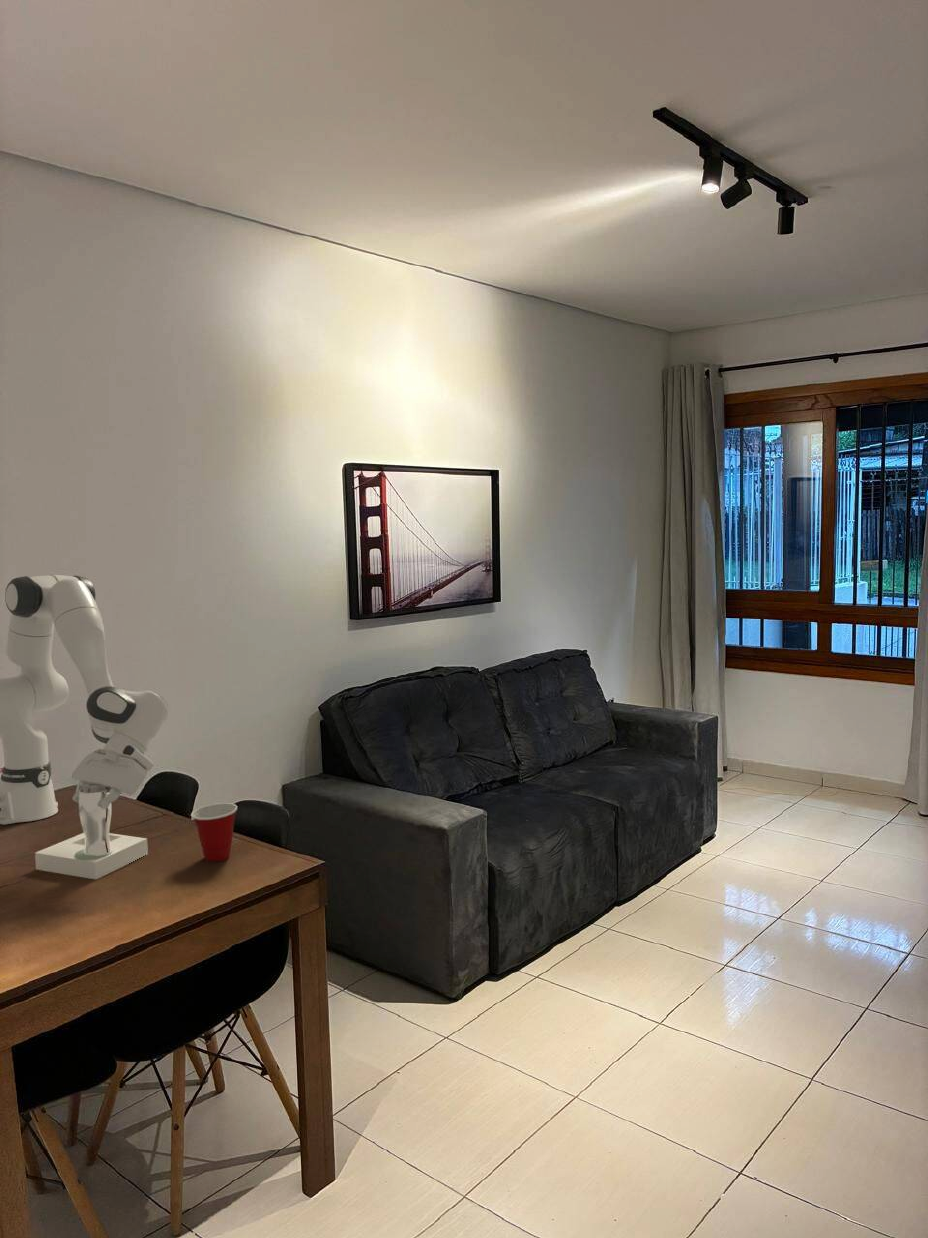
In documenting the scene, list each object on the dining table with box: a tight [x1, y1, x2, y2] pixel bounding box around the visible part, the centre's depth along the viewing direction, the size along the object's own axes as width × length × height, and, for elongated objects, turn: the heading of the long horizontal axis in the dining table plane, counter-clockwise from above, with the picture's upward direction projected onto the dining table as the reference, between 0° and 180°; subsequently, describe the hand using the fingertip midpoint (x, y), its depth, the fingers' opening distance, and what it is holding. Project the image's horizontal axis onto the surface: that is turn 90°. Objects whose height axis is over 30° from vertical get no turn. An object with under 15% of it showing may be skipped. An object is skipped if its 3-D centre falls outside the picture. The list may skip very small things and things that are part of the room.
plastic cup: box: [190, 802, 238, 863], centre depth 222 cm, size 11×11×12 cm
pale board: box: [34, 832, 149, 880], centre depth 221 cm, size 18×17×4 cm
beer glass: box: [78, 785, 113, 857], centre depth 214 cm, size 7×7×15 cm
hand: (88, 804), depth 213 cm, fingers open, 8 cm apart
